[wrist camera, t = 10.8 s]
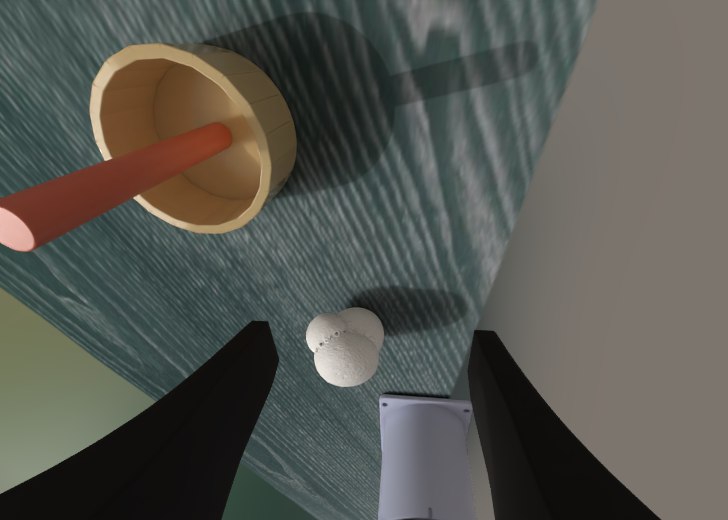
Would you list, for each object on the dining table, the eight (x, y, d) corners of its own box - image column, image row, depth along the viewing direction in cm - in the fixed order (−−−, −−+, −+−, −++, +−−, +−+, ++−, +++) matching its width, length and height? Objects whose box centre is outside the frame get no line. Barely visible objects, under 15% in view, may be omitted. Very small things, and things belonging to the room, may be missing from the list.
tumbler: (307, 203, 20) (286, 234, 16) (183, 203, 21) (139, 233, 17) (281, 39, 15) (245, 36, 12) (125, 50, 16) (50, 50, 13)
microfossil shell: (373, 345, 26) (365, 410, 21) (309, 326, 25) (286, 387, 21) (392, 306, 23) (387, 368, 19) (321, 284, 23) (298, 342, 18)
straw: (235, 148, 18) (46, 253, 9) (211, 149, 18) (2, 252, 9) (228, 121, 17) (12, 203, 8) (203, 122, 17) (-36, 203, 8)
